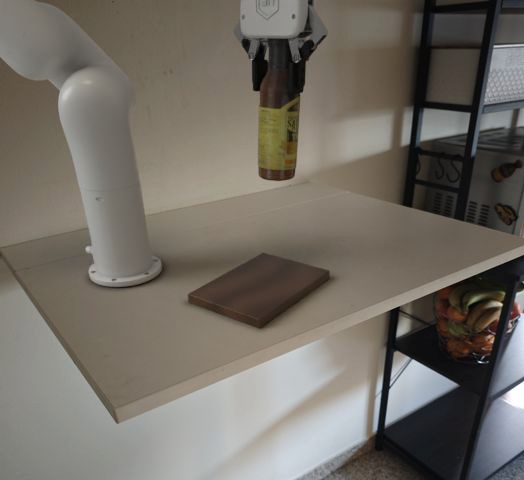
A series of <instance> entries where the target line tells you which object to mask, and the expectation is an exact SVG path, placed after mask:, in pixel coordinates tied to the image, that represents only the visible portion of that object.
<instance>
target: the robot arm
mask: <svg viewBox="0 0 524 480" xmlns="http://www.w3.org/2000/svg"><path fill="white" fill-rule="evenodd" d="M239 8H240V9H239V10H240V11H239V12H240V13H239V14H240V17H239V20H238V22H237V24H236V26H234V29H233V35H234V36H235V38H236V39H237V40H238V42H239V43H240V44H241V46H242V49H244V51H245V52H246V54H247V58H248V60H249V61H251V82H252V91H253V92H260V85H261V83H262V80H263V78H264V77H265V76H266V73H267V71H268V60H269V59H266V54H267V51H268V48H269V47H268V38H281V39H284V38H288V41H289V45H290V50H291V54H292V58H293V62H291V63H290V64H289V86H288V92H289V93H290V94H298V93H300V94H302V93H303V92H304V87H305V85H306V71H307V62H308V61H310V59H311V56H312V55H313V54H314V52H315V51H317V49H318V46H319V45H321V43H322V42H323V41H324V40H325V39H326V37H327V36H328V35H329V31H328V29H327V27H326V25H325V24H324V22H323V20H322V19H321V17H320V16H319V14H318V12H317V0H240V7H239ZM308 37H309V38H308ZM307 38H308V39H307ZM0 58H1V59H2V61H3V62H4V63H6V64H7V65H8V66H9V67H10V68H11V69H12V70H13V71H14V72H15V73H16V74H18V75H20V77H21V76H22V77H23V78H25V79H27V80H30V81H31V80H32V81H47V80H48V81H49V82H50V83H51V84H52V85H53V86H54V87H55V88H56V89H57V90H58V91H59V93H58V99H57V109H58V116H59V120H60V124H61V127H62V130H63V133H64V137H65V139H66V143H67V145H68V149H69V151H70V156H71V158H72V162H73V166H74V170H75V176H76V179H77V184H78V187H79V191H80V196H81V200H82V205H83V211H84V214H85V219H86V223H87V227H88V233H89V237H90V243H91V245H87V246H86V247H85V253H87V254H90V255H92V258H93V263H92V264H91V265H90V267H88V276H89V280H91V281H92V282H93V283H95V284H96V285H99V286H104V287H110V288H123V287H125V288H126V287H131V286H137V285H141V284H144V283H146V282H149V281H152V280H153V279H155V278H156V277H158V275H160V273H161V272H162V271H163V265H162V260H161V259H160V258H159V257H157V256H156V255H153V254H152V250H151V244H150V237H149V231H148V224H147V223H148V222H147V217H146V210H145V203H144V198H143V197H144V196H143V191H142V185H141V179H140V178H141V177H140V172H139V166H138V161H137V154H136V150H135V146H134V141H133V136H132V130H131V126H130V121H131V120H132V118H133V117H134V114H135V112H136V109H137V95H136V91H135V88H134V85H133V83H132V82H131V80H130V79H129V77H128V76H127V74H126V73H125V72H124V71H123V70H122V68H120V67H119V66H118V65H117V64H116V62H114V60H113V59H112V58H111V57H110V56H109V55H108V54H107V53H106V52H105V51H104V50H103V49H102V48H101V47H100V46H99V45H98V44H97V43H96V42H95V41H94V39H92V38H91V36H89V35H88V33H86V31H85V30H84V29H83V28H81V26H80V25H79V24H78V23H77V22H76V21H75V20H74V19H73V18H71V17H70V16H69V15H68V14H66V13H65V12H64V10H61V9H60V8H59V7H56V6H55V5H53V4H50V3H46V2H41V1H37V0H0Z"/></svg>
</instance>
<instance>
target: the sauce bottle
mask: <svg viewBox="0 0 524 480" xmlns="http://www.w3.org/2000/svg"><path fill="white" fill-rule="evenodd" d="M267 48H268V59H267V60H268V71H267V73H266V76H265V77H264V78H263V80H262V83H261V85H260V91H259V104H258V134H257V166H258V167H257V169H258V170H257V171H258V176H259V177H260V178H261V179H263V180H266V181H272V182H273V181H274V182H283V181H289V180H292V179H293V178H295V176H296V169H297V162H298V161H297V160H298V145H299V130H300V112H301V111H300V110H301V93H298V94H290V93H289V92H288V86H289V64H290V63H291V62H293V58H292V54H291V50H290V45H289V41H288V38H284V39H281V38H268V47H267Z"/></svg>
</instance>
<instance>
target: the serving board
mask: <svg viewBox="0 0 524 480" xmlns="http://www.w3.org/2000/svg"><path fill="white" fill-rule="evenodd" d="M330 272H331V271H330V270H329V269H325V268H322V267H319V266H314V265H310V264H307V263H304V262H299V261H295V260H292V259H288V258H285V257H282V256H279V255H278V256H277V255H274V254H270V253H266V252H261V253H259V254H258V255H256V256H254V257H252V258H251V259H249V260H247V261H245V262H243V263H241V264H240V265H237V266H235V267H234V268H233V269H231V270H228V271H226V272H225V273H223V274H222V275H220V276H218V277H216V278H214V279H212V280H211V281H209V282H207V283H206V284H203V285H202V286H200V287H197V288H196V289H195V290H193V291H190V292H189V293H187V300H188V303H190V304H191V305H195V306H198V307H199V308H203V309H205V310H209V311H211V312H214V313H217V314H219V315H222V316H225V317H227V318H231V319H232V320H236V321H238V322H241V323H244V324H247V325H249V326H252V327H254V328H258V329H261V328H262V327H264V326H265V325H266V324H268V323H269V322H271V321H272V320H273V319H275V318H276V317H277V316H279V315H280V314H282V313H283V312H285V311H286V310H287V309H289V308H290V307H292V306H294V304H296V303H298V302H299V301H300V300H301V299H303V298H304V297H306V296H307V295H309V294H310V293H311V292H313V291H314V290H315V289H316V288H318V287H320V286H321V285H322V284H324V283H325V282H327V281H328V280H329V279H330V274H331V273H330Z"/></svg>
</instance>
